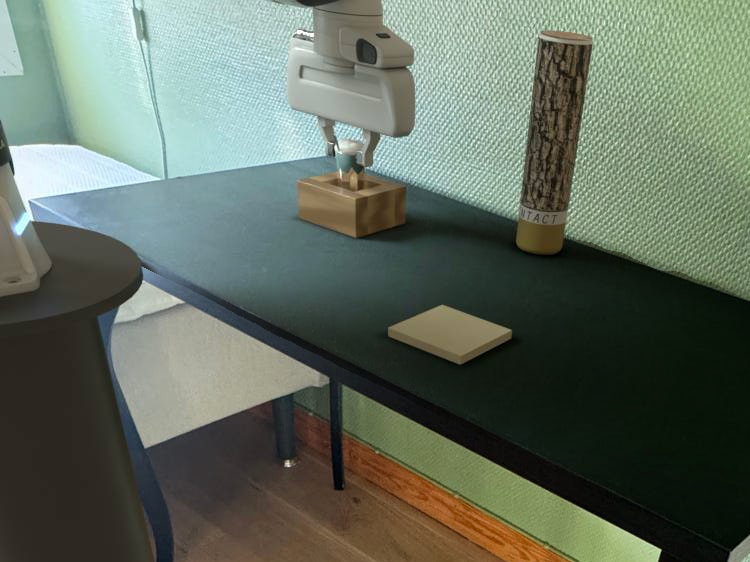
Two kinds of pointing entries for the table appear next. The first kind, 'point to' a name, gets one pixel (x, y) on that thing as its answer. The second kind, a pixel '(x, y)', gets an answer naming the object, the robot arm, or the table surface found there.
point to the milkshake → (349, 164)
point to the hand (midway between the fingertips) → (349, 161)
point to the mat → (450, 334)
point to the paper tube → (552, 139)
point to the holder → (351, 204)
